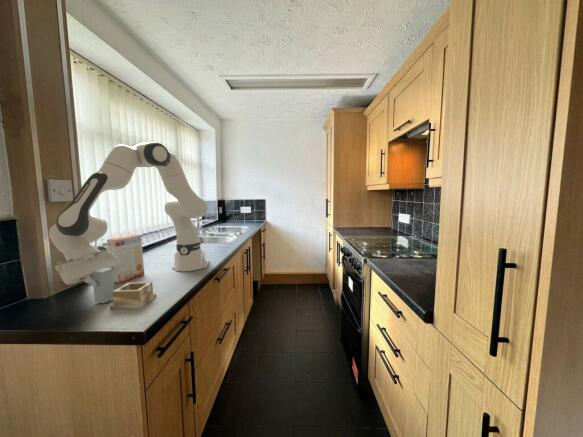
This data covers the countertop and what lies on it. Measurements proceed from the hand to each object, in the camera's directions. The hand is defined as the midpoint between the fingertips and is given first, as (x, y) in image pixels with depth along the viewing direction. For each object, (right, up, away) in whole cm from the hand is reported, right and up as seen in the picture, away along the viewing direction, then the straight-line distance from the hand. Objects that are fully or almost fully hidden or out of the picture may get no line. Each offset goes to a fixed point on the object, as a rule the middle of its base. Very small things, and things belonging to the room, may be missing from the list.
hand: (104, 282), depth 98 cm
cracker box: (-9, -5, +29) cm, 31 cm away
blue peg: (-1, -7, +1) cm, 7 cm away
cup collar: (+11, -7, 0) cm, 14 cm away
